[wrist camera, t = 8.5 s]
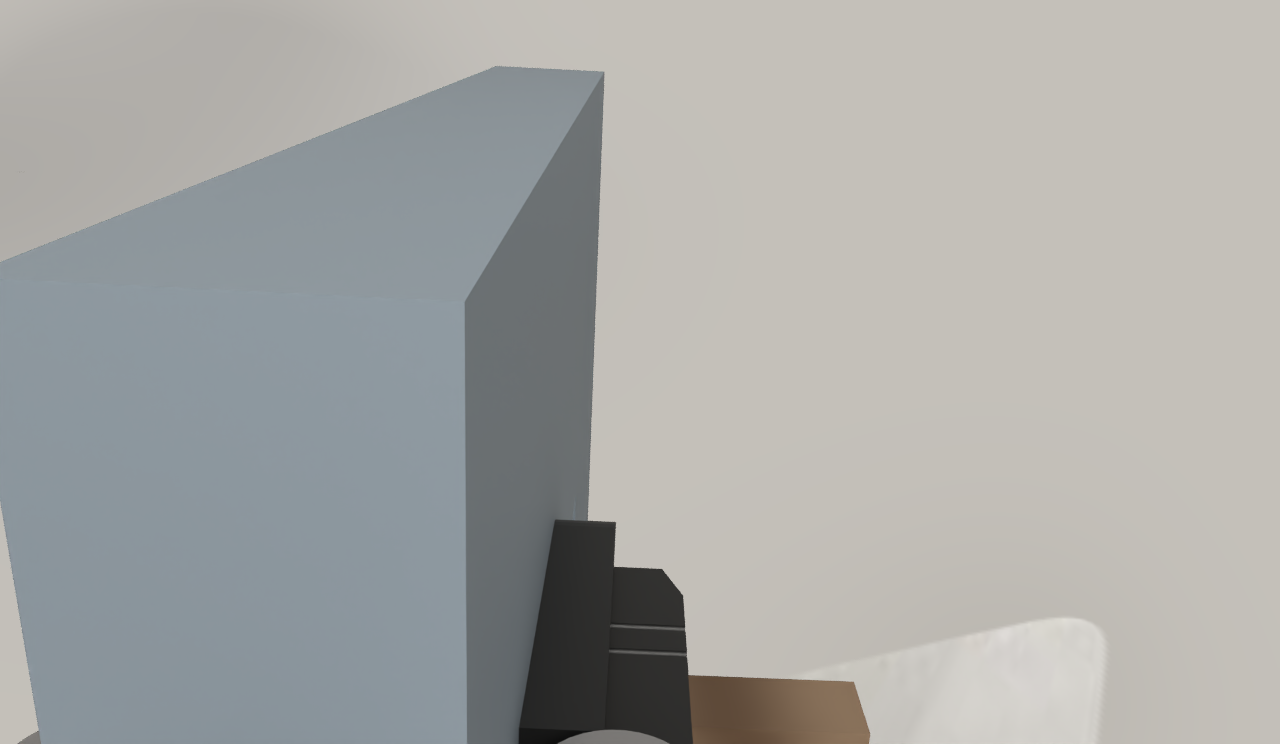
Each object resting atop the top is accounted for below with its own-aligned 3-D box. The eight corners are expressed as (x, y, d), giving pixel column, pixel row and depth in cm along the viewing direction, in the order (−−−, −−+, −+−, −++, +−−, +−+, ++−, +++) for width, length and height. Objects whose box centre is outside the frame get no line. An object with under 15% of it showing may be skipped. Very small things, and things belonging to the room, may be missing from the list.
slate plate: (215, 1779, 8) (-38, 276, 4) (493, 626, 23) (495, 66, 19) (473, 1786, 8) (465, 302, 4) (583, 630, 23) (604, 71, 19)
